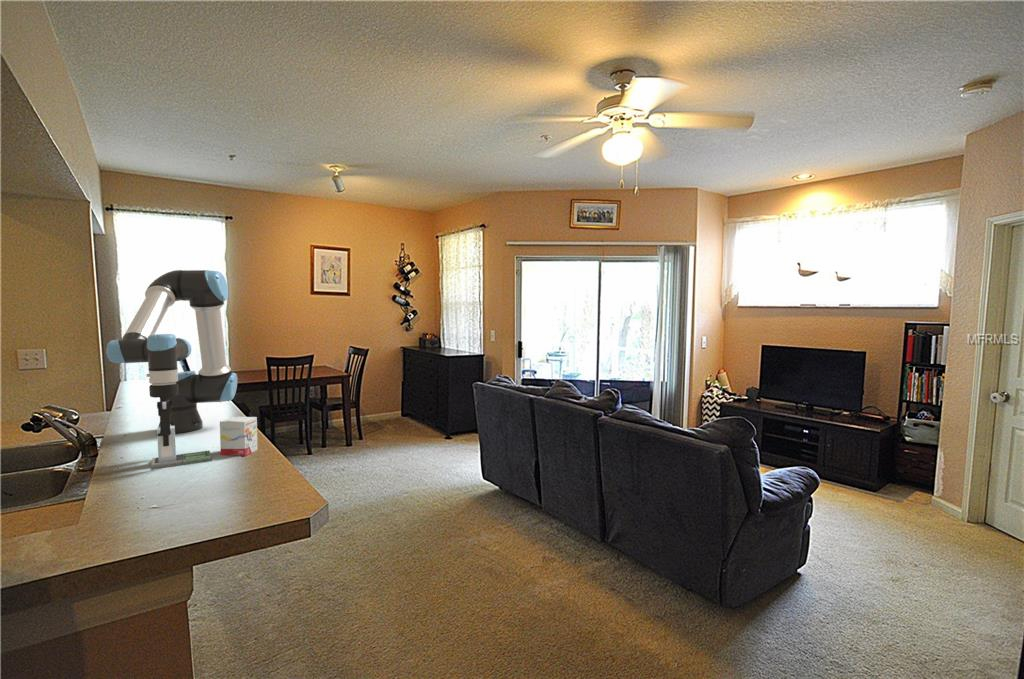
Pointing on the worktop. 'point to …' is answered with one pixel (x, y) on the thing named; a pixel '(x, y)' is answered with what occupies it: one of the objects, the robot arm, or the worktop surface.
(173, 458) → the plug
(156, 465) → the panel
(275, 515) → the worktop surface
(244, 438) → the ink box
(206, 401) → the robot arm
